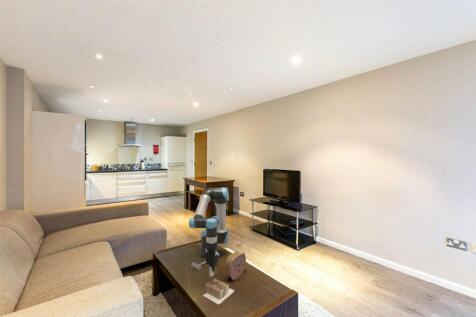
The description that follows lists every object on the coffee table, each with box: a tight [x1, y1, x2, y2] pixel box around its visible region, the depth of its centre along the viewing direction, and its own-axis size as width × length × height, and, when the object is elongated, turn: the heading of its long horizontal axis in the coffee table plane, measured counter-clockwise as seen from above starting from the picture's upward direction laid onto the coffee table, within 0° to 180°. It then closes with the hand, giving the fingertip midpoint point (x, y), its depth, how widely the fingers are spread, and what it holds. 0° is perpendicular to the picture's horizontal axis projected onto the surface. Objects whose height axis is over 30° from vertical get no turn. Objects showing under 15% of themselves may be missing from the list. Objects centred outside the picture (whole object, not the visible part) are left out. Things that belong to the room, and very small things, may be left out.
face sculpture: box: [224, 251, 247, 281], centre depth 161 cm, size 20×7×17 cm, turn 144°
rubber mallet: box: [190, 252, 223, 271], centre depth 182 cm, size 10×4×30 cm
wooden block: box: [205, 277, 230, 299], centre depth 141 cm, size 9×5×13 cm
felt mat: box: [202, 288, 235, 306], centre depth 140 cm, size 16×14×1 cm
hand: (211, 275), depth 144 cm, fingers closed
